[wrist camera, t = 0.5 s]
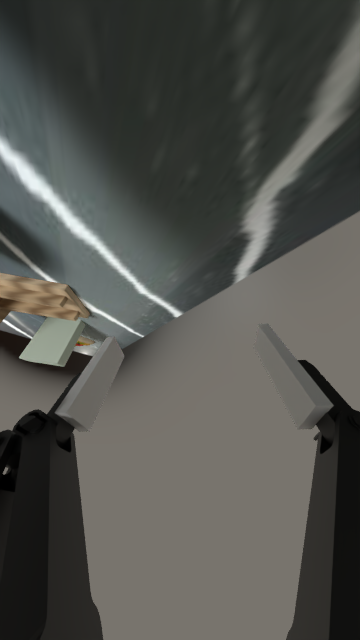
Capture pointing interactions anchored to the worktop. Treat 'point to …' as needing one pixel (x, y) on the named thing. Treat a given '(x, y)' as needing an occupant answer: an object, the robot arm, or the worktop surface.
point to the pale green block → (53, 341)
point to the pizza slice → (84, 341)
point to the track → (39, 298)
